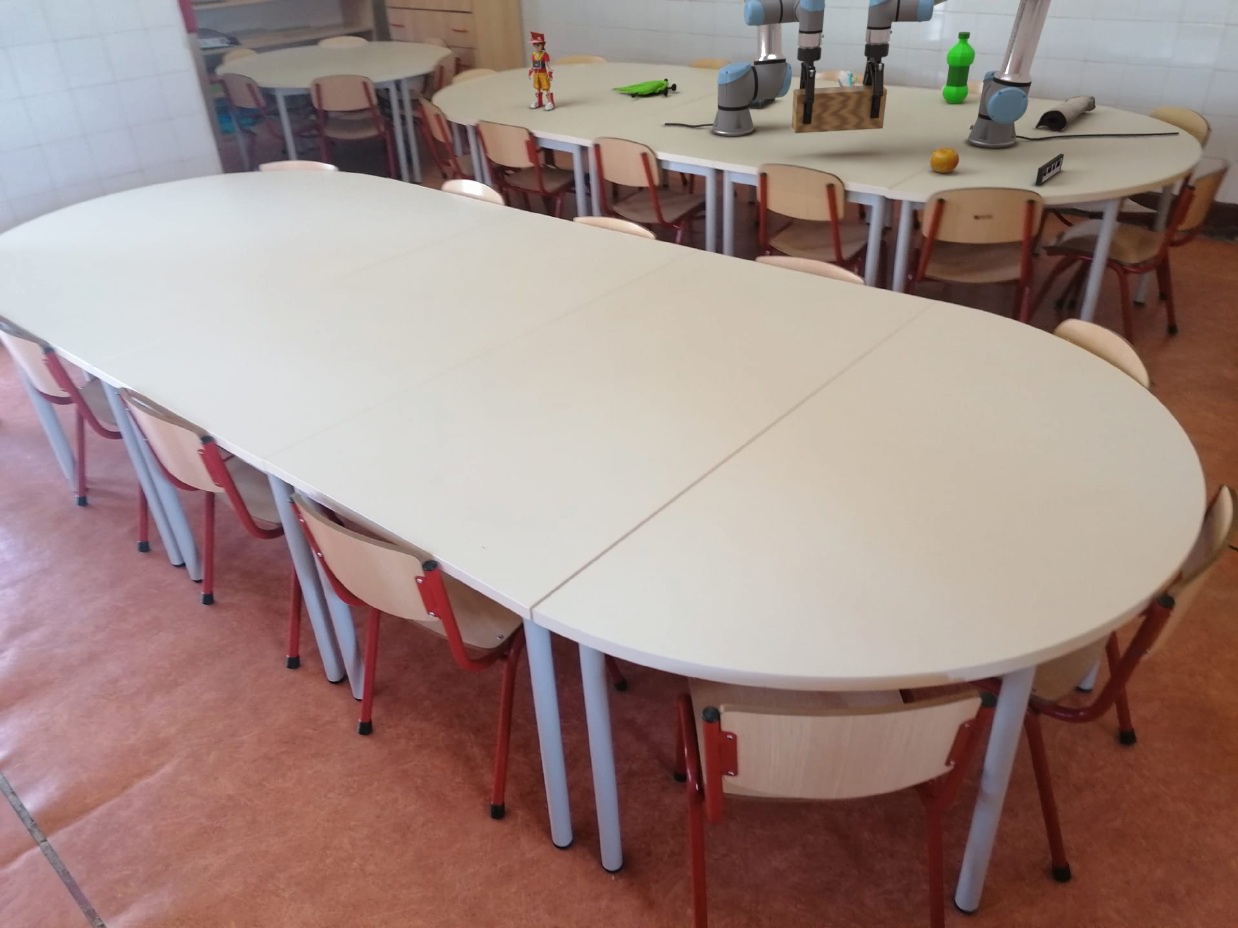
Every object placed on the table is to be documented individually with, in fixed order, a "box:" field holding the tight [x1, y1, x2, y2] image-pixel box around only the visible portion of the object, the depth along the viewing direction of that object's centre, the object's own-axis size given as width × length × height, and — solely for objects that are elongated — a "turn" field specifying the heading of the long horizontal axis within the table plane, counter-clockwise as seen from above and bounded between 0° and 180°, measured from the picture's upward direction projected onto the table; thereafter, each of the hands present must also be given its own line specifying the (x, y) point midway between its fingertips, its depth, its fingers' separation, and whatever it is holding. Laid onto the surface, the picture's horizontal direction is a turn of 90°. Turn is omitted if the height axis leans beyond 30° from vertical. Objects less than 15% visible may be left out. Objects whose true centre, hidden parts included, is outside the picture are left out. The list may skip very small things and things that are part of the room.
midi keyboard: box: [1035, 153, 1065, 186], centre depth 273 cm, size 18×1×5 cm, turn 138°
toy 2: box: [612, 78, 677, 99], centre depth 396 cm, size 28×5×30 cm
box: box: [791, 85, 888, 134], centre depth 298 cm, size 29×8×12 cm, turn 89°
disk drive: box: [749, 98, 776, 109], centre depth 368 cm, size 10×3×15 cm
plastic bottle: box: [942, 31, 976, 104], centre depth 348 cm, size 10×10×25 cm
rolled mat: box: [1035, 94, 1097, 132], centre depth 323 cm, size 30×9×10 cm
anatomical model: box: [837, 70, 863, 87], centre depth 370 cm, size 15×10×10 cm
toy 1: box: [527, 31, 556, 111], centre depth 374 cm, size 12×9×30 cm
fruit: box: [929, 147, 960, 174], centre depth 283 cm, size 8×8×8 cm
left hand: (804, 120), depth 300 cm, fingers closed on box, 8 cm apart
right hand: (870, 113), depth 299 cm, fingers open, 12 cm apart
